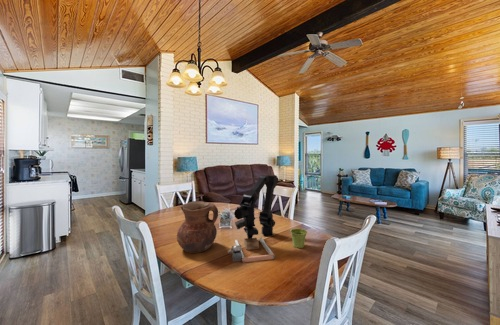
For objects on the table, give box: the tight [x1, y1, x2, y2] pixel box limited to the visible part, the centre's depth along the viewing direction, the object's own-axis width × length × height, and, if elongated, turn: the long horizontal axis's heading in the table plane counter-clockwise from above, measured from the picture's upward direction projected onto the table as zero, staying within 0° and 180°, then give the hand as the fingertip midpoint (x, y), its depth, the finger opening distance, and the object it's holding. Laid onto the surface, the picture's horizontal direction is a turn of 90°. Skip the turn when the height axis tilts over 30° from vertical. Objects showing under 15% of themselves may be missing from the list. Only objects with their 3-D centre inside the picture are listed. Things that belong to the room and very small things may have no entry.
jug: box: [176, 200, 219, 254], centre depth 122 cm, size 22×21×25 cm
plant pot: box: [290, 228, 308, 249], centre depth 125 cm, size 9×9×9 cm
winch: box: [227, 244, 243, 262], centre depth 108 cm, size 7×6×7 cm
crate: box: [243, 237, 260, 251], centre depth 123 cm, size 7×6×4 cm
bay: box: [234, 237, 275, 263], centre depth 119 cm, size 16×23×2 cm
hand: (249, 241), depth 128 cm, fingers closed
